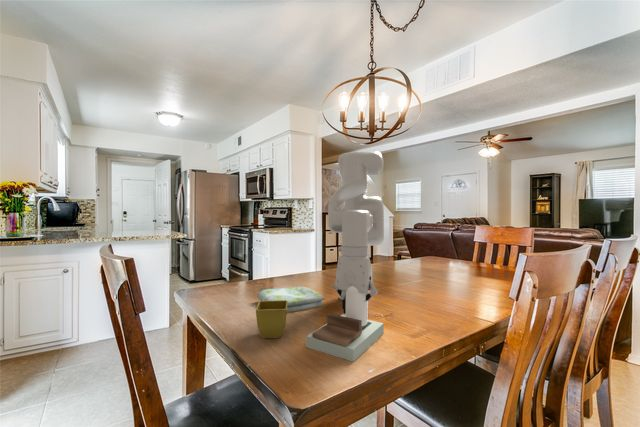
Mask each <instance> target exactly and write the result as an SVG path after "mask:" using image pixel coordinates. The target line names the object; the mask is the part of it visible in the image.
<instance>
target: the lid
mask: <svg viewBox="0 0 640 427" xmlns="http://www.w3.org/2000/svg"><path fill="white" fill-rule="evenodd" d="M326 324H327V325H326ZM326 324H324V325H325V326H324V325H322V326H323V327H322V326H321V327H322V328H321V327H320V329H319V328H317V329H318V330H317V329H316V330H317V331H316V330H314V331H315V332H314V331H313V332H314V333H313V332H311V333H312V337H314V338H318V339H321V340H325V341H328V342H332V343H336V344H339V345H343V346H347V345H348V344H350V343H351V342H352V341H353V340H354V339H356V338H357V337H358V336H359V335H361V334H362V331H363V330H362V320H357V319H353V318H348V317H343V316H340V315H338V314H333V313H329V314H326Z"/></svg>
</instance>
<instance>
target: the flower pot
mask: <svg viewBox="0 0 640 427" xmlns="http://www.w3.org/2000/svg"><path fill="white" fill-rule="evenodd" d="M287 303H288V301H287V300H280V301H260V300H259V301H258V303H257V305H256V308H255V316H256V317H255V318H256V325H257V326H256V327H257V329H258V332H259V335H260V336H261V337H262V339H280V338H281V337H282V336H283V334H284V332H285V330H286V324H287V314H288V313H287Z"/></svg>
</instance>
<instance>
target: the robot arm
mask: <svg viewBox="0 0 640 427" xmlns="http://www.w3.org/2000/svg"><path fill="white" fill-rule="evenodd" d="M337 164H338V170H339V174H340V177H341V179H342V185H341V186H340V187H338V189H337V190H336V191H334V192H333V194H332V195H331V198H330V199H329V203H328V211H327V212H328V213H327V227H328V229H329V230H330V231H331V232H333V233H336V234H337V233H339V234H340V237H341V245H340V246H338V248H337V249H338V250H337V251H338V252H340V253H341V254H340V255H339V256H338V260H337V265H336V276H335V281H334V283H333V285H332V289H334V290H335V291H336V292H337V294H338V295H339V296H338V298H339V300H341V301H342V304H341V305H342V306H341V307H342V313H343V314H346V291H347V289H348V288H349V287H351V286H354V287H355V288H356V289H357V290H358V292H359V293H366V292H367V291H368V294H367V295H366V301H367V300H368V301H370V299H371V298H373V297H374V296H375V295H377V294H378V293H379V290H378V289H377V288H376V287H375V285H374V283H373V271H372V263H371V259H370V257H369V256H368V246H381V245H382V244H383V243H384V240H385V221H384V220H385V219H384V217H385V215H384V212H385V211H384V210H385V209H384V202H383V200H382V198H381V197H380V196H378V195H377V196H376V195H369V196H368V195H366V191H367V190H368V176H378V175H379V176H380V175H381V174H382V173H383V170H384V164H385V163H384V157H383V155H382V153H381V152H380V151H352V152H345V153H342V154H340V155H339V156H338V160H337ZM343 203H344V209H343V208H342V209H341V208H340V209H338V208H339V207H340V205H342V204H343ZM350 284H352V285H350ZM369 291H370V292H369ZM364 302H365V301H364Z"/></svg>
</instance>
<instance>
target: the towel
mask: <svg viewBox="0 0 640 427" xmlns="http://www.w3.org/2000/svg"><path fill="white" fill-rule="evenodd" d="M257 298H258V299H259V301H280V300H287V301H288V303H287V314H288V313H292V312H298V311H299V312H300V311H303V310H308V309H314V308H319V307H322V306H323V301H324V300H325V297H324V295H322V294H321V293H319V292H317V291H315V290H313V289H311V288H309V287H305V286H293V287H277V288H266V289H262V290H260V291H258V293H257Z"/></svg>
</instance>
